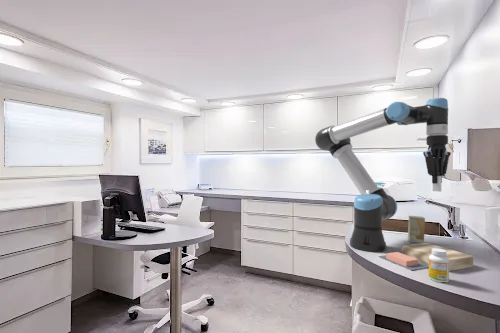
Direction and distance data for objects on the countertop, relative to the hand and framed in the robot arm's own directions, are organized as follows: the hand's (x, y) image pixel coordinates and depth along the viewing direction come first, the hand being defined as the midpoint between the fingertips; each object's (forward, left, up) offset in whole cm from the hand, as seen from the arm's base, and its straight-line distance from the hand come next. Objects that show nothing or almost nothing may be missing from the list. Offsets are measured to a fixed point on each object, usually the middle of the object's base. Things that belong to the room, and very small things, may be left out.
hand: (436, 191), depth 115 cm
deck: (+6, -9, -26) cm, 29 cm away
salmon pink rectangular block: (+3, -23, -24) cm, 34 cm away
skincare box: (-16, +8, -27) cm, 32 cm away
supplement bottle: (+19, -25, -27) cm, 41 cm away
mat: (+3, -22, -26) cm, 34 cm away
